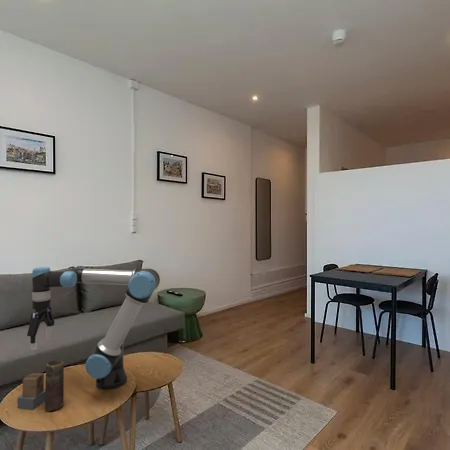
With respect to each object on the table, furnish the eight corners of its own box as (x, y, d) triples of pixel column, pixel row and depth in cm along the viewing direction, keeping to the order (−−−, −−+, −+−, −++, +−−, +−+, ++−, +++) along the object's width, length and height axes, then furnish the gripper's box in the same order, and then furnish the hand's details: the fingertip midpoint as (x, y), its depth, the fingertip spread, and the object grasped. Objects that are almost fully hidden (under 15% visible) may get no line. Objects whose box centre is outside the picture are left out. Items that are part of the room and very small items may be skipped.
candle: (51, 402, 148) (51, 358, 148) (67, 402, 148) (67, 359, 148) (41, 412, 141) (41, 365, 141) (57, 412, 140) (58, 366, 141)
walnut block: (30, 390, 150) (30, 373, 150) (43, 390, 150) (43, 373, 150) (22, 397, 144) (22, 379, 144) (36, 397, 144) (36, 379, 144)
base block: (46, 401, 150) (46, 390, 150) (32, 410, 142) (32, 399, 142) (31, 399, 151) (31, 388, 151) (17, 408, 144) (17, 397, 144)
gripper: (46, 294, 166) (46, 335, 166) (17, 306, 141) (18, 354, 141) (61, 294, 167) (61, 335, 166) (35, 305, 142) (35, 354, 142)
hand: (41, 344), depth 154 cm, fingers open, 13 cm apart
